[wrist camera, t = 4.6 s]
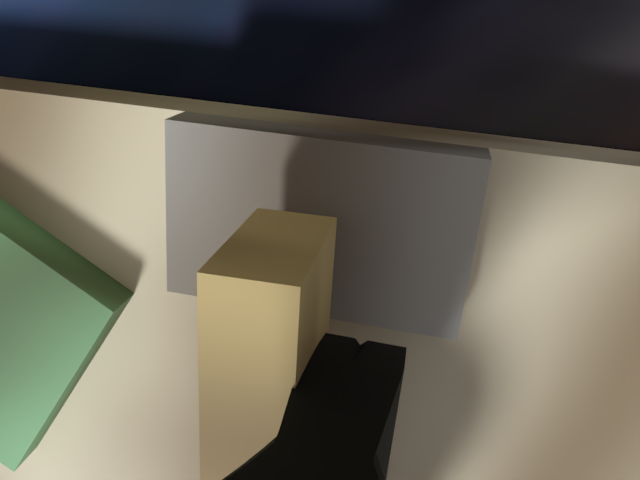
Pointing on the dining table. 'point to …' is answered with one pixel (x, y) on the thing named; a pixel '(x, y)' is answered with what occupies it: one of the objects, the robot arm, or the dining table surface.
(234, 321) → the knob
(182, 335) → the tuner board
